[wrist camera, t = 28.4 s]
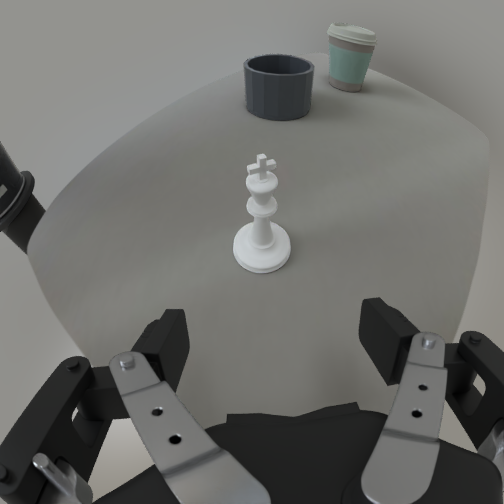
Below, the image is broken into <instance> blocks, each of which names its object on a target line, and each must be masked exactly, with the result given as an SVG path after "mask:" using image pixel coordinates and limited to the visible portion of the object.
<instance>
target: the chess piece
mask: <svg viewBox="0 0 504 504" xmlns="http://www.w3.org/2000/svg"><path fill="white" fill-rule="evenodd" d="M273 169H276V162H275V160H274V159H271V160H267V157H266V156H265V154H264V153H263V154H259V155H257V163H255V164H251V165H247V171H248V173H249V175H248V177H247V179H246V186H247V188H248V190H249V192H250V193H251V195H252V196H251V197H250V198H249V200H248V202H247V206H246V207H247V210H248V212H249V213H250V214H251V215H252V216H254V222H251V223H249V224H247V225H245V226H243V227H242V228H241V229H240V230H239V231H238V233H237V234H236V236H235V238H234V244H233V253H234V256H235V258H236V260H237V262H238V263H239V264H240V265H241V266H242V267H244V268H245V269H247V270H249V271H251V272H255V273H269V272H272V271H275V270H277V269H279V268H280V267H282V266H283V265H284V264H285V263H286V261H287V260H288V258H289V256H290V251H291V246H290V239H289V236H288V234H287V233H286V231H285V230H284V229H283V228H282V227H280V226H279V225H277V224H275V223H273V222H270V218H269V217H270V216H272V215H273V214H274V213H275V212H276V210H277V202H276V200H275V198H274V197H273V196H272V194H273V193H274V191H275V190H276V188H277V185H278V179H277V177H276V176H275V175H274V174H273V173H271V172H269V170H273Z"/></svg>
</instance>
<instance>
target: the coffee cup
mask: <svg viewBox="0 0 504 504" xmlns="http://www.w3.org/2000/svg"><path fill="white" fill-rule="evenodd" d="M327 34H329V82H330V84H331V85H332V86H334V87H335V88H338V89H340V90H344V91H348V92H357V91H359V90H360V89H361V86H362V83H363V80H364V78H365V75H366V72H367V69H368V66H369V62H370V60H371V56H372V54H373V50H374V47H375V45H377V40H376V36H375V33H374V32H372V31H370V30H368V29H365V28H362V27H359V26H355V25H350V24H344V23H332V24H331V26H330V28H329V29H328V32H327Z"/></svg>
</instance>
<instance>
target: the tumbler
mask: <svg viewBox="0 0 504 504" xmlns="http://www.w3.org/2000/svg"><path fill="white" fill-rule="evenodd" d="M313 77H314V65H313V64H312V63H311V62H310V61H308V60H305V59H303V58H300V57H296V56H292V55H283V54H266V55H259V56H255V57H252V58H249V59H247V60H246V61H245V62H244V81H245V100H246V107H247V109H248V110H249V111H250V112H251V113H252V114H254V115H256V116H258V117H261V118H265V119H270V120H293V119H297V118H301V117H303V116H305V115H306V114H307V113H308V112H309V110H310V105H311V97H312V87H313Z"/></svg>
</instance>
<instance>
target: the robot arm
mask: <svg viewBox="0 0 504 504" xmlns="http://www.w3.org/2000/svg"><path fill="white" fill-rule="evenodd" d="M25 184H26V179H25V177H24V176H23V175H22V174H21V173H20V172H19V170H18V169H17V167H16V165H15V164H14V162H13V161H12V159H11V158H10V156H9V155H8V153H7V152H6V150H5V148H4V147H3V145H2V144H1V142H0V219H2V218H3V217H4V216H5V215H6V214H7V213H8V212H9V211H10V210H11V209H12V207H13V206H14V205H15V204H16V202H17V201H18V199H19V198H20V196H21V194H22V192H23V190H24V187H25ZM359 339H360V342H361V344H362V345H363V347H364V348H365V350H366V352H367V353H368V355H369V356H370V358H371V360H372V361H373V363H374V364H375V366H376V368H377V369H378V371H379V373H380V374H381V376H382V377H383V379H384V381H385V382H386V384H387V386H389V385H394V384H399V387H398V390H397V393H396V396H395V399H394V402H393V405H392V407H391V410H390V413H389V415H386V414H383V413H379V412H375V411H367V410H360V409H359V407H358V404H357V402H353V403H348V404H342V405H336V406H330V407H325V408H322V409H319V410H316V411H313V412H310V413H307V414H304V415H300V416H296V417H288V416H279V415H270V414H262V413H253V414H227V421H226V423H223V424H219V425H215V426H212V427H209V428H207V429H205V430H204V429H203V428H202V427H201V426H200V424H199V423H198V422H197V421H196V420H195V418H194V417H193V416H192V415H191V413H190V412H189V411H188V410H187V408H186V407H185V406H184V405H183V403H182V402H181V401H180V399H179V398H178V397H177V395H176V394H175V393H176V389H177V386H178V383H179V380H180V377H181V374H182V371H183V369H184V366H185V363H186V360H187V357H188V354H189V348H190V343H189V336H188V330H187V324H186V318H185V313H184V310H183V309H166V310H165V312H164V314H163V315H162V317H161V318H160V320H154V321H153V322H151V323H150V324H148V325H147V327H146V328H145V330H144V332H143V333H142V334H141V336H140V337H139V339H138V340H137V342H136V343H135V345H134V346H133V348H132V349H131V351H130V352H123V353H120V354H118V355H116V356H115V357H113V358H112V359H111V361H110V363H109V366H105V367H94V368H92V367H91V365H90V362H89V360H88V359H87V358H85V357H82V356H75V357H70V358H68V359H66V360H64V361H63V362H61V364H59V366H58V367H57V368H56V369H55V371H54V372H53V373H52V374H51V376H50V377H49V378H48V380H47V381H46V382H45V383H44V385H43V386H42V387H41V389H40V390H39V391H38V392H37V394H36V395H35V397H34V398H33V399H32V400H31V402H30V403H29V405H28V406H27V407H26V409H25V410H24V411H23V413H22V415H21V416H20V417H19V418H18V420H17V422H16V423H15V424H14V426H13V427H12V429H11V430H10V432H9V433H8V435H7V436H6V438H5V439H4V441H3V442H2V444H1V445H0V497H1V498H2V499H3V500H4V501H5V502H7V503H8V504H503V497H502V495H503V492H504V352H503V351H502V350H500V348H498V347H497V346H496V345H495V344H494V343H493V342H492V341H491V340H490V339H489V338H487V337H486V336H485V335H484V334H482V333H479V332H476V331H466V332H464V333H463V334H462V335H461V338H460V341H459V343H451V344H445V341H444V339H443V338H442V337H441V336H439V335H438V334H435V333H432V332H420V331H419V330H418V329H417V328H416V327H415V326H414V325H413V324H412V323H411V322H410V321H409V320H408V319H407V318H406V317H404V315H403V314H402V313H401V312H400V311H399V310H397V309H395V308H393V307H391V306H388V305H387V304H386V303H385V302H384V301H383V300H382V299H381V298H379V297H378V298H369V299H364V300H363V302H362V307H361V316H360V324H359ZM477 374H478V375H479V376H480V377H481V378H482V379H483V381H484V382H485V386H486V390H485V393H484V395H483V396H482V395H481V394H480V392H479V391H478V390H477V388H476V387H475V386H474V385H473V382H474V380H475V378H476V376H477ZM444 400H446V401H447V403H448V404H449V406H450V407H451V409H452V410H453V412H454V414H455V415H456V416H457V418H458V420H459V421H460V423H461V425H462V426H463V428H464V429H465V431H466V433H467V434H468V436H469V437H470V439H471V441H472V443H473V444H474V446H475V448H476V449H477V451H478V452H477V453H474V452H471V451H469V450H466V449H464V448H461V447H458V446H456V445H453V444H451V443H448V442H446V441H443V440H441V439H439V438H438V437H439V431H440V426H441V420H442V415H443V408H444ZM76 407H77V409H78V412H77V414H76V416H75V418H74V420H73V421H72V414H73V412H74V410H75V408H76ZM124 418H131V420H132V422H133V424H134V426H135V428H136V430H137V432H138V434H139V436H140V437H141V440H142V442H143V444H144V445H145V447H146V449H147V451H148V453H149V454H150V456H151V458H152V460H153V462H154V463H155V464H154V465H152V466H151V467H149V468H148V469H146V470H145V471H143V472H142V473H140V474H139V475H137V476H136V477H134V478H133V479H131V480H129V481H128V482H126V483H125V484H123V485H121V486H120V487H118V488H116V489H115V490H113V491H111V492H109V493H108V494H106V495H104V496H102V497H101V498H99V499H98V500H96V501H95V502H93V503H92V500H93V493H92V490H91V487H90V486H89V485H88V481H89V478H90V475H91V473H92V470H93V467H94V465H95V462H96V459H97V457H98V454H99V452H100V449H101V447H102V444H103V442H104V439H105V437H106V435H107V432H108V430H109V427H110V425H111V423H112V420H113V419H124Z"/></svg>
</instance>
